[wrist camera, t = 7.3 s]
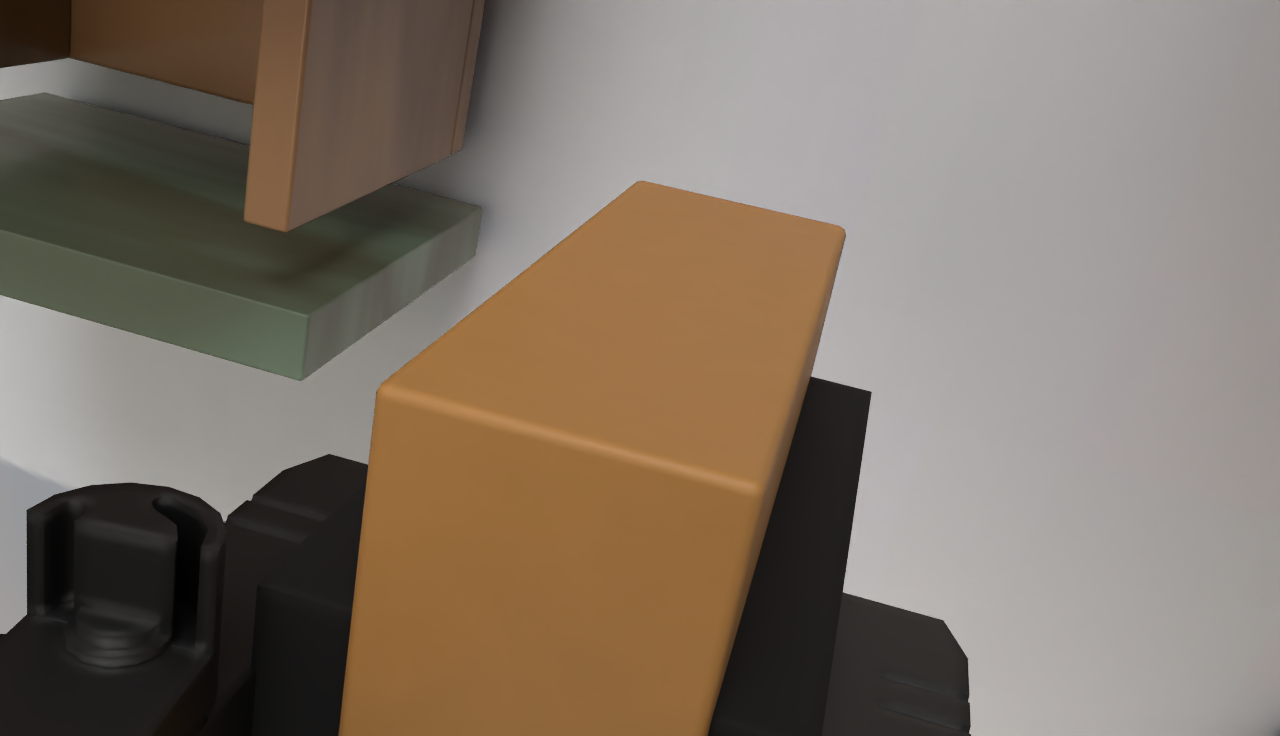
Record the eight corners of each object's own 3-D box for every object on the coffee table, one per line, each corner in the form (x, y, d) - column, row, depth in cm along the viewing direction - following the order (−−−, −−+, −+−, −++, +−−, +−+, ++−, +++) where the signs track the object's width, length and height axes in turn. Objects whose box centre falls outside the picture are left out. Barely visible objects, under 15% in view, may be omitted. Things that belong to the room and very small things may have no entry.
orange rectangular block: (847, 226, 13) (766, 488, 7) (726, 714, 16) (582, 1249, 9) (637, 178, 14) (372, 383, 7) (548, 661, 16) (288, 1143, 10)
